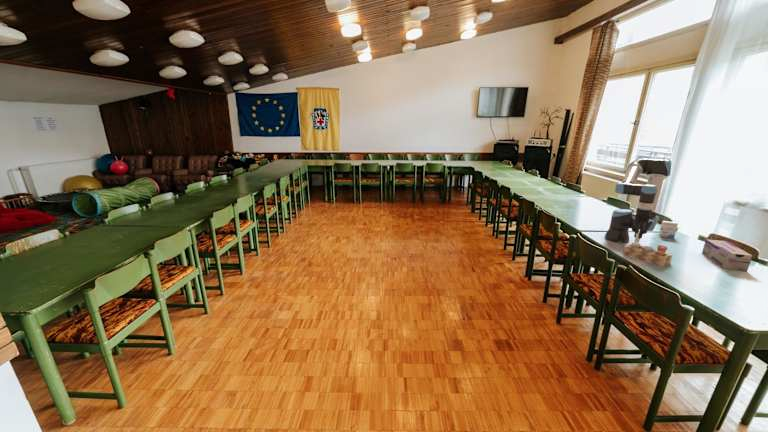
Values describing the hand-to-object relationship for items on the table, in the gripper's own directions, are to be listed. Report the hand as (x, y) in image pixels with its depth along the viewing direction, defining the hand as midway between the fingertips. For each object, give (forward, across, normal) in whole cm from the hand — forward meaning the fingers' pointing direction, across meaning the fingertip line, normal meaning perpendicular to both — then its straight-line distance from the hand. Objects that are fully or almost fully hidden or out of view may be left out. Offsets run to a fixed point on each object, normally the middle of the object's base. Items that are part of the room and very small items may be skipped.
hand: (636, 242), depth 209 cm
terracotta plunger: (+6, +14, 0) cm, 15 cm away
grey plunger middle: (+9, +7, 0) cm, 11 cm away
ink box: (+10, -7, +62) cm, 63 cm away
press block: (+9, +7, 0) cm, 11 cm away
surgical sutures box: (+10, +33, +36) cm, 50 cm away
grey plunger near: (+9, 0, 0) cm, 9 cm away
